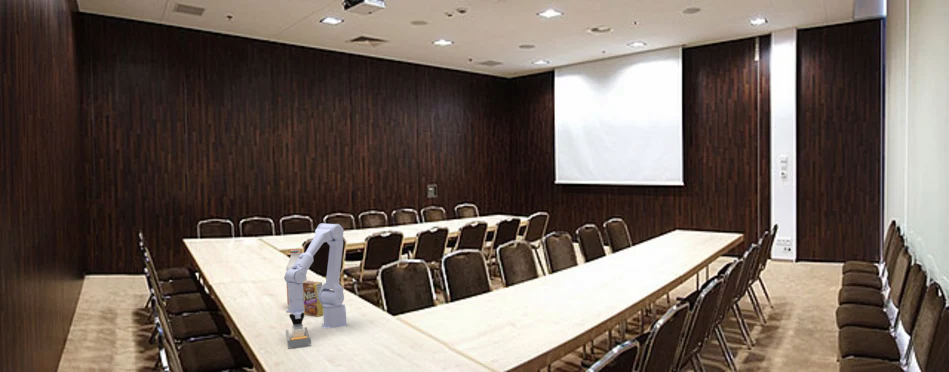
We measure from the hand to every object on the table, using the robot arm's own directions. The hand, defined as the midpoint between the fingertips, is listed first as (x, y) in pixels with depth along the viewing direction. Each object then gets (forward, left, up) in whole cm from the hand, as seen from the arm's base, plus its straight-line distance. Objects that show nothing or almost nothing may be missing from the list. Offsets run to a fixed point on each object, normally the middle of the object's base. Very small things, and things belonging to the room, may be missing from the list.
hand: (297, 332), depth 236 cm
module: (0, +6, -2) cm, 7 cm away
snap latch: (0, +11, -2) cm, 11 cm away
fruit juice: (-3, -51, -3) cm, 51 cm away
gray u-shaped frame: (0, +2, -3) cm, 3 cm away
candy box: (-9, -34, -3) cm, 35 cm away
